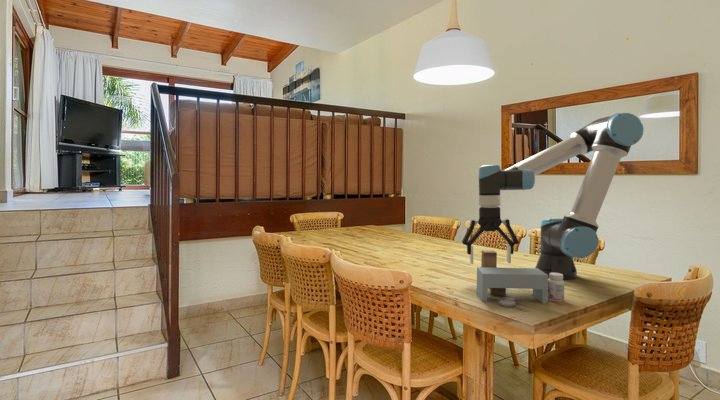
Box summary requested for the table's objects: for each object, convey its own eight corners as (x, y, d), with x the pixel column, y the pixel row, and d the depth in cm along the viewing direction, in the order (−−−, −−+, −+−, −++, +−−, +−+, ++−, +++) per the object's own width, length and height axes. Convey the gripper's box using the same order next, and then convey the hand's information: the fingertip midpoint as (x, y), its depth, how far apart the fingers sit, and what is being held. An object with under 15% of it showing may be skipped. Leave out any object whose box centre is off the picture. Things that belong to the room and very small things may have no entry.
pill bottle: (544, 297, 127) (545, 272, 127) (558, 297, 128) (558, 272, 127) (552, 302, 123) (553, 276, 122) (567, 301, 123) (567, 275, 122)
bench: (537, 294, 130) (537, 268, 130) (547, 303, 121) (548, 275, 121) (476, 293, 132) (476, 267, 132) (482, 301, 123) (482, 273, 123)
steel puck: (513, 303, 122) (514, 297, 121) (517, 309, 117) (517, 302, 117) (497, 302, 123) (497, 296, 122) (500, 308, 118) (500, 301, 118)
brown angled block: (480, 281, 147) (481, 250, 147) (493, 281, 147) (494, 250, 146) (491, 294, 131) (491, 259, 130) (505, 294, 130) (506, 259, 130)
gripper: (520, 205, 146) (521, 260, 147) (454, 206, 149) (454, 260, 150) (527, 206, 139) (527, 264, 140) (457, 208, 141) (457, 265, 142)
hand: (490, 262), depth 145 cm, fingers open, 13 cm apart
